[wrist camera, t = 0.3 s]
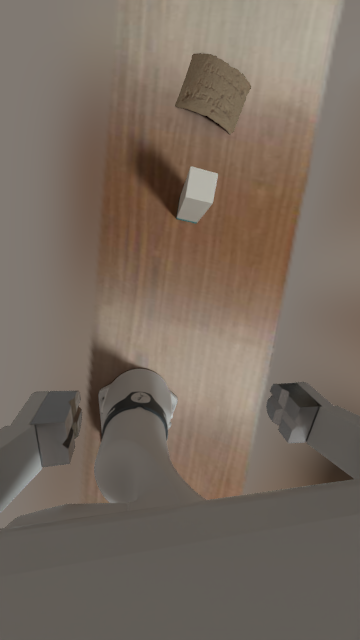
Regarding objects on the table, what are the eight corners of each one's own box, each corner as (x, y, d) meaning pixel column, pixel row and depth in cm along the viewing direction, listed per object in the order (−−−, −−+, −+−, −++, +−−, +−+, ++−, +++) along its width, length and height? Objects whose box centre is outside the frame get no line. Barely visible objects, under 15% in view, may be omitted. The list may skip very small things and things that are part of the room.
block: (196, 223, 48) (212, 203, 36) (176, 218, 48) (185, 196, 35) (200, 201, 48) (218, 173, 35) (179, 196, 47) (190, 166, 34)
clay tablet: (254, 91, 46) (260, 79, 43) (236, 142, 47) (241, 133, 44) (187, 53, 43) (189, 39, 41) (170, 108, 44) (171, 97, 42)
